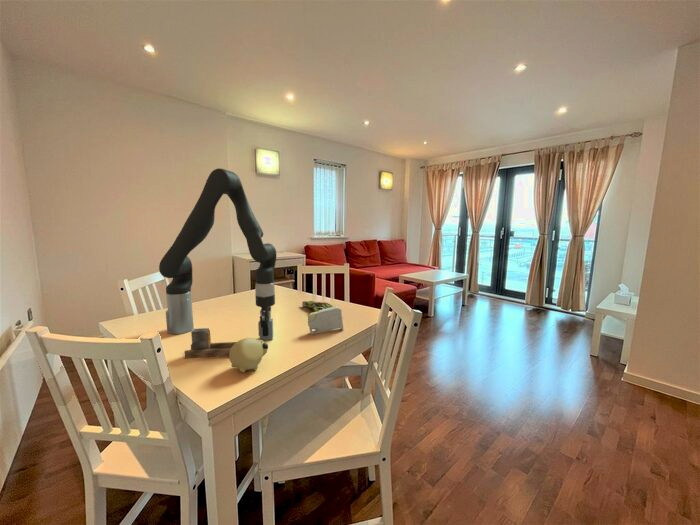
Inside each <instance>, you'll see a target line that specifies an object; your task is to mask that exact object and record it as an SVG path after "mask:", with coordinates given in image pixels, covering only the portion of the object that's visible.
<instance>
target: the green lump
mask: <svg viewBox="0 0 700 525" xmlns="http://www.w3.org/2000/svg"><path fill="white" fill-rule="evenodd" d="M301 304H302V305H301V306H302V307H307V308H309V309H312V310H313V311H314V312H317V311H319V310H320V309H319V308H323V309H327V308H331V307H334V305H333V304H330V303H328V302H327V301H325V302H324V301H313V300H308V301H306V300H305V301H302V303H301Z"/></svg>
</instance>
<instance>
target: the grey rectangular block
mask: <svg viewBox="0 0 700 525" xmlns="http://www.w3.org/2000/svg"><path fill="white" fill-rule="evenodd" d="M268 325H269V327H268V336H263V328H261V322H260V320H259V321H258V325H257V326H258V327H257V329H258V336H259V340H262V341H272V340H273V339H274V319H273V318H272V317H271V319H270V321H269V322H268Z"/></svg>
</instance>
